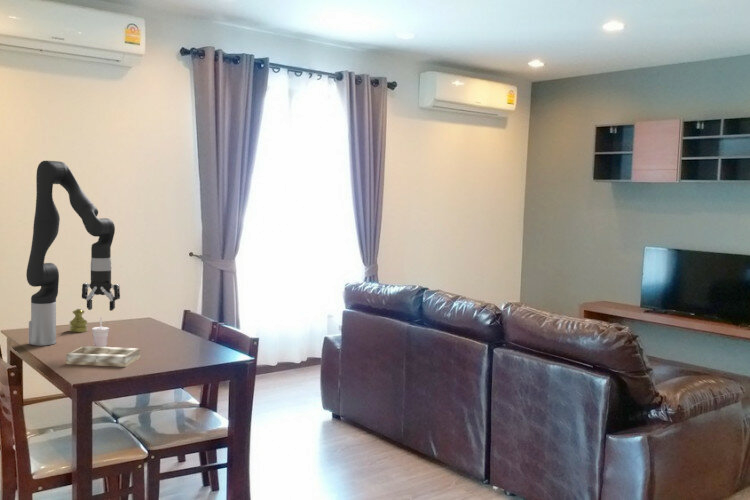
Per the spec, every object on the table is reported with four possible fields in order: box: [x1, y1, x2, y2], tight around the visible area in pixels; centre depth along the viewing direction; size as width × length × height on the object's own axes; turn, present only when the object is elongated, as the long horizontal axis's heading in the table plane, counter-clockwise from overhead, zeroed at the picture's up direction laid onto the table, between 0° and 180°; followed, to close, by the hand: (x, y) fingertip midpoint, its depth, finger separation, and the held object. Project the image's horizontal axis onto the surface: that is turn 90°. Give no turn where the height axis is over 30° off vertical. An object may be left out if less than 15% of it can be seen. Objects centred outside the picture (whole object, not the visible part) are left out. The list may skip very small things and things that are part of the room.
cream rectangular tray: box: [65, 345, 141, 368], centre depth 254 cm, size 22×14×4 cm, turn 89°
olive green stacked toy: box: [69, 308, 88, 333], centre depth 304 cm, size 7×7×10 cm
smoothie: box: [91, 317, 110, 347], centre depth 266 cm, size 6×6×14 cm
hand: (100, 309), depth 266 cm, fingers open, 8 cm apart
